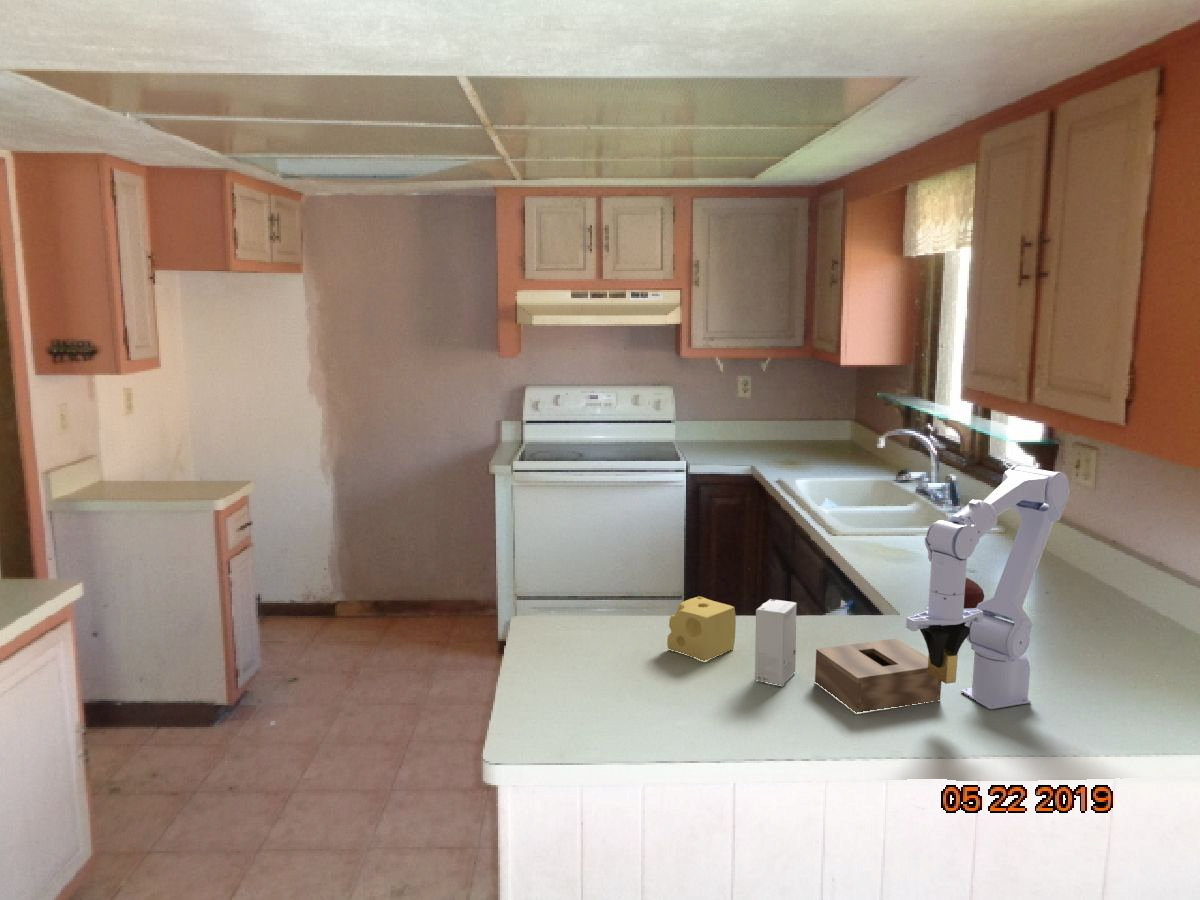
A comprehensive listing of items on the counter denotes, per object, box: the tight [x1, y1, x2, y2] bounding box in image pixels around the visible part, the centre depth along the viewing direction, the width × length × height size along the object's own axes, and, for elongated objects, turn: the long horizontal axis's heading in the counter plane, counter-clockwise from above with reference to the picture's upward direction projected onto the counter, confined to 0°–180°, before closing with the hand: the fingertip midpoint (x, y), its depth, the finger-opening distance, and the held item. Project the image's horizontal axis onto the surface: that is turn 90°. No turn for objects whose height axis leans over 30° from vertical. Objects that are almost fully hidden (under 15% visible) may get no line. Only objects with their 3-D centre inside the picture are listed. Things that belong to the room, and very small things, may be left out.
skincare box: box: [754, 598, 798, 687], centre depth 177 cm, size 8×6×15 cm
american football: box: [964, 577, 985, 609], centre depth 215 cm, size 12×11×8 cm
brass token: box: [927, 648, 959, 685], centre depth 159 cm, size 2×5×5 cm, turn 18°
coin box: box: [814, 638, 942, 713], centre depth 171 cm, size 18×14×7 cm
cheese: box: [667, 595, 737, 661], centre depth 191 cm, size 10×11×10 cm
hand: (941, 664), depth 159 cm, fingers closed on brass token, 2 cm apart
